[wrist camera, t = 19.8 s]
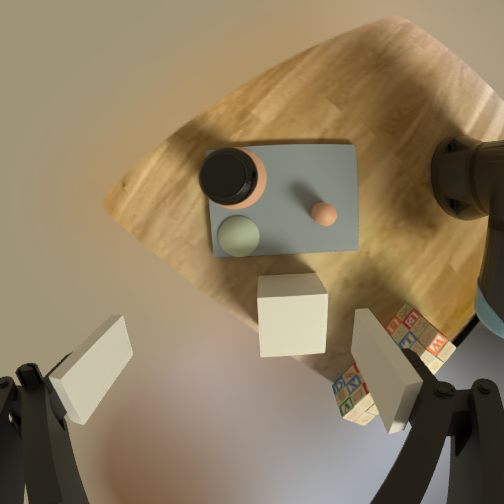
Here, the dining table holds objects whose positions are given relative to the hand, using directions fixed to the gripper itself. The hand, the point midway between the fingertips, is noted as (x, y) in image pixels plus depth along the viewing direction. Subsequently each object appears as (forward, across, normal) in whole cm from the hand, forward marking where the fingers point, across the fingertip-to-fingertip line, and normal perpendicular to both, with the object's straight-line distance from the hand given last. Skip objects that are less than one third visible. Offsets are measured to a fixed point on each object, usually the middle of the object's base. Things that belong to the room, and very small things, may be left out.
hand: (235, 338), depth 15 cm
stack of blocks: (+29, -22, +22) cm, 43 cm away
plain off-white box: (+29, -5, +10) cm, 31 cm away
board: (+29, -5, -6) cm, 30 cm away
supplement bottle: (+27, +2, -9) cm, 29 cm away
